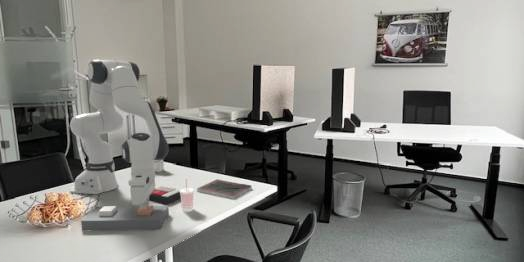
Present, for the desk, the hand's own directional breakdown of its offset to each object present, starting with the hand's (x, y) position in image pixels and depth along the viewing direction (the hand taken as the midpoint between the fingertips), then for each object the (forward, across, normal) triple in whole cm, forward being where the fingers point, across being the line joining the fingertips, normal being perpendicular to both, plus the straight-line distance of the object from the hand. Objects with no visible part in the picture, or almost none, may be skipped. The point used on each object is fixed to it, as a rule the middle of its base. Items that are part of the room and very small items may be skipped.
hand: (145, 207), depth 149 cm
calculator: (+7, -27, +1) cm, 28 cm away
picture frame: (+7, -36, +29) cm, 47 cm away
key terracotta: (+4, 0, 0) cm, 4 cm away
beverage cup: (+6, -12, +14) cm, 20 cm away
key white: (+4, 0, -15) cm, 16 cm away
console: (+6, 0, -8) cm, 10 cm away
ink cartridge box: (+6, -72, -15) cm, 74 cm away
